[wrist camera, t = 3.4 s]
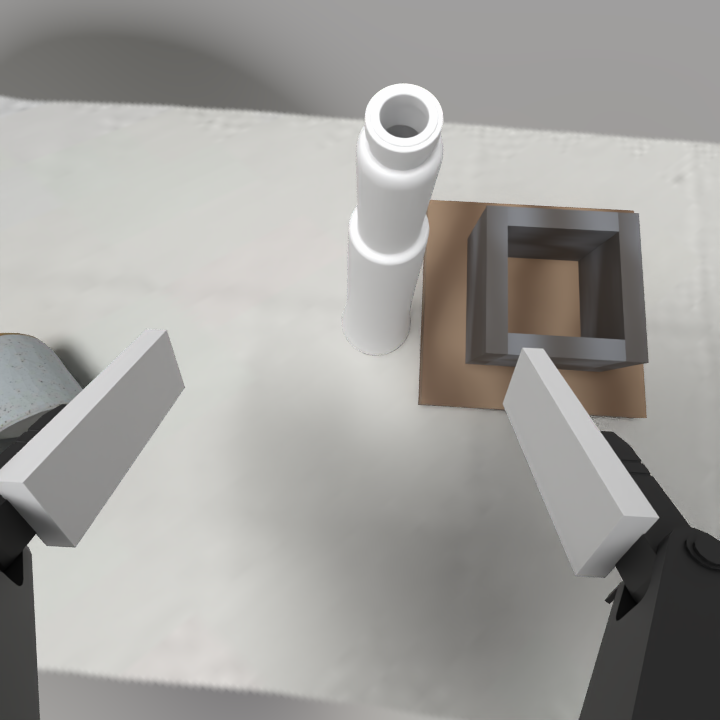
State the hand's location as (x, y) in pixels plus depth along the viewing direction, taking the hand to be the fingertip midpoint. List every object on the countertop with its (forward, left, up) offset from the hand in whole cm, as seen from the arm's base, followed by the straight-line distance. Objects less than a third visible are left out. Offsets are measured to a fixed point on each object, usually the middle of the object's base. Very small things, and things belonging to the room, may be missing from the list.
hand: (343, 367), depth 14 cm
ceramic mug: (+26, +3, -17) cm, 32 cm away
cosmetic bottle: (-2, -7, -17) cm, 19 cm away
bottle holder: (-15, -9, -17) cm, 24 cm away
